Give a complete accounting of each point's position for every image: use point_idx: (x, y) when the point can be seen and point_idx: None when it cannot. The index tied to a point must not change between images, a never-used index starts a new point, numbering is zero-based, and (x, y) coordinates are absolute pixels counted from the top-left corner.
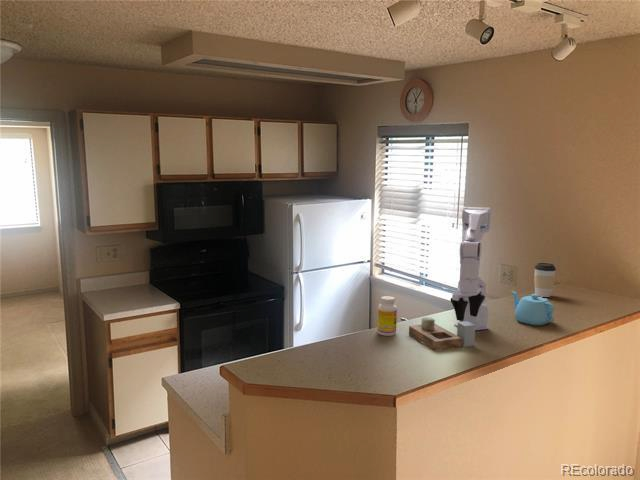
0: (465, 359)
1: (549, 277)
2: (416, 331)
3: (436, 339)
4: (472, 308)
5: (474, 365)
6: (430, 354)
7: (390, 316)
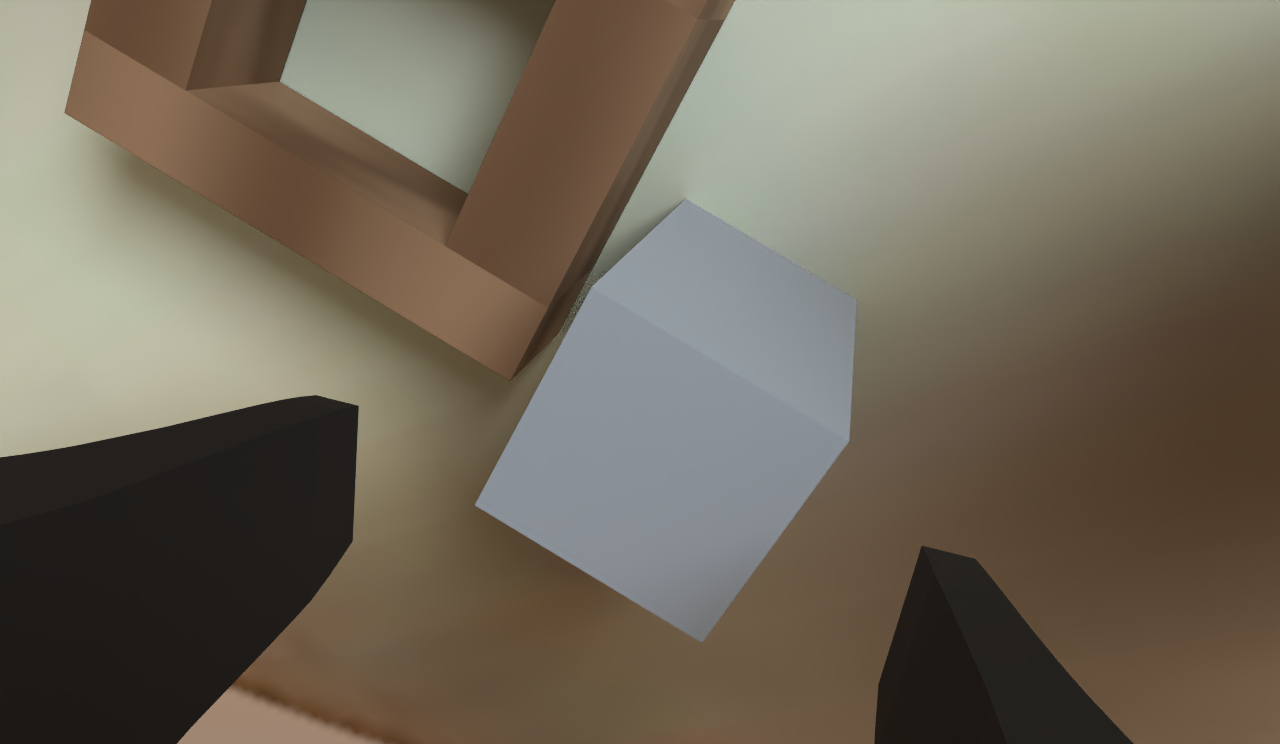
0: None
1: None
2: None
3: (144, 75)
4: (937, 742)
5: None
6: (29, 122)
7: None
